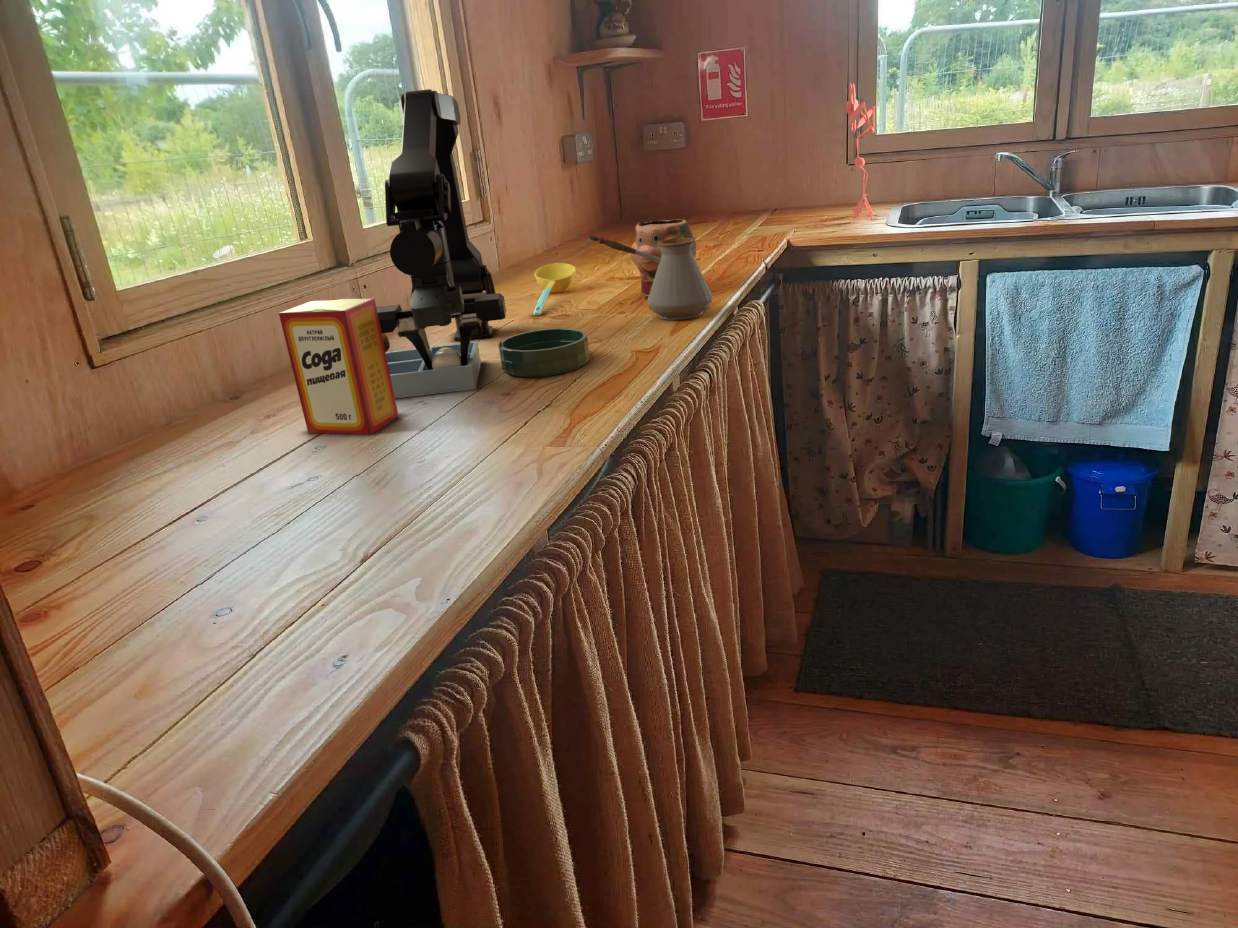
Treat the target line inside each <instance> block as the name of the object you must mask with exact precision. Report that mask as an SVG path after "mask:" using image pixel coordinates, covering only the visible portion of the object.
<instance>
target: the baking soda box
mask: <svg viewBox="0 0 1238 928" xmlns="http://www.w3.org/2000/svg"><path fill="white" fill-rule="evenodd" d="M376 307H377V303H376V299H375V298H339V299H335V300H334V299H333V300H332V299H331V300H329V299H328V300H310V301H308V302H305V303H302V304H299V305H297V306H294V307H291V308H289V309H286V310H283V311H279V312H278V317H279V320H280V324H281V328H282V333H283V338H284V341H285V345H286V348H287V353H288V356H289V361H290V365H291V369H292V373H293V377H294V381H295V385H296V390H297V393H298V398H299V401H300V406H301V410H302V414H303V418H304V422H305V426H306V430H307V433H308V434H345V435H347V434H349V435H351V434H352V435H355V434H356V435H372V434H374V433H376V432H377V431H378V430H380V429H381V428H383V427H385V426H386V425H388V424H389V423H391V422H392V421H394V420H395V419H397V418H398V417H399V412H398V407H397V402H396V399H395V397H394V392H393V387H392V382H391V377H390V372H389V367H388V362H387V357H386V352H385V347H384V342H383V338H382V333H381V328H380V323H379V318H378V313H377V308H376Z"/></svg>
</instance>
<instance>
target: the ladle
mask: <svg viewBox="0 0 1238 928" xmlns="http://www.w3.org/2000/svg"><path fill="white" fill-rule="evenodd" d="M576 274H577V267H575V266H574V265H572V264H569V263H565V262H554V263H548V264H545V265H542V266H540V267H538V268H537V269H536V270H535V271H534V277H535V281H536V282H537V284H538V285H539V286H540V287H541V289H543V291H542V292H541V294H540V296H539V298H538V300H537V302H536V305H535V307H534V310H533V313H532V314H533V316H541V315H542V313H543V310H544V306H545V304H546V301H547V299H548V296H549V294H550V293H553V294H555V293H556V294H558V293H562V292H564V291H566V290H568V289H569V288H570V287H572V285H573V284H574V282H575V279H576V277H577V275H576Z"/></svg>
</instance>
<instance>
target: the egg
mask: <svg viewBox="0 0 1238 928" xmlns="http://www.w3.org/2000/svg"><path fill="white" fill-rule="evenodd" d="M458 366H462V364H461V355H460V354H459V352H458V351H456V350H455V349H453V348H449V347H445V348H441V349H440V350H438V351H437V352H436V353H435V355H434V357H433V359H432V368H433V369H441V368H450V367H458Z"/></svg>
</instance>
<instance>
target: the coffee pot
mask: <svg viewBox="0 0 1238 928" xmlns="http://www.w3.org/2000/svg"><path fill="white" fill-rule="evenodd" d="M591 241H593V242H598V244H599V245H605V246H608V247H609V248H611V249H613V250H617V251H620V252H624V253H628V254H630V255H631V254H636V255H639V256H641V257H644V258H647V259H650V260H652V261H655V262H658V263H659V266H658V269H657V272H656V275H655V278H654V281H653V285H652V288H651V291H650V294H649V296H647V297H648V298H647V306H648V308H649V309H650V310H651V311H652V312H653V313H655V314H656V315H658V316H659V318H660V319H662V320H666V321H667V320H668V321H676V320H677V321H678V320H679V321H680V320H687V319H688V320H689V319H694V318H697V317H700V316H702V315H703V314H704V311H706V310H707V309H708V308H709V307H710V305H711V304H712V301H713V299H714V295H713V293H712V291H711V289H710V287H709V284H708V282H707V281H706V279H705V276H704V274H703V272H702V270H701V268H700V267H699V265H698V264H699V263H698V262H697V261H696V257H695V258H694V256H693V254H692V252H691V250H692V243H693V242H694V241H695V242H696V239H695V240H694V239H693V238H674V239H667V240H663V241H659V242H657V245H658V246H660V249H661V252H662V256H661V257H657V256H654V255H651V254H647V253H644V252H641V251H638V250H636V249H633V248H631V247H632V246H628V245H625V244H623V243H620V242H618V241H616V240H609V239H604V237H602V236H601V237H598V236H596V235H592V234H589V235H588V237H587V240H586V244H585V247H587V248H588V247H589V245H590V242H591Z"/></svg>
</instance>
